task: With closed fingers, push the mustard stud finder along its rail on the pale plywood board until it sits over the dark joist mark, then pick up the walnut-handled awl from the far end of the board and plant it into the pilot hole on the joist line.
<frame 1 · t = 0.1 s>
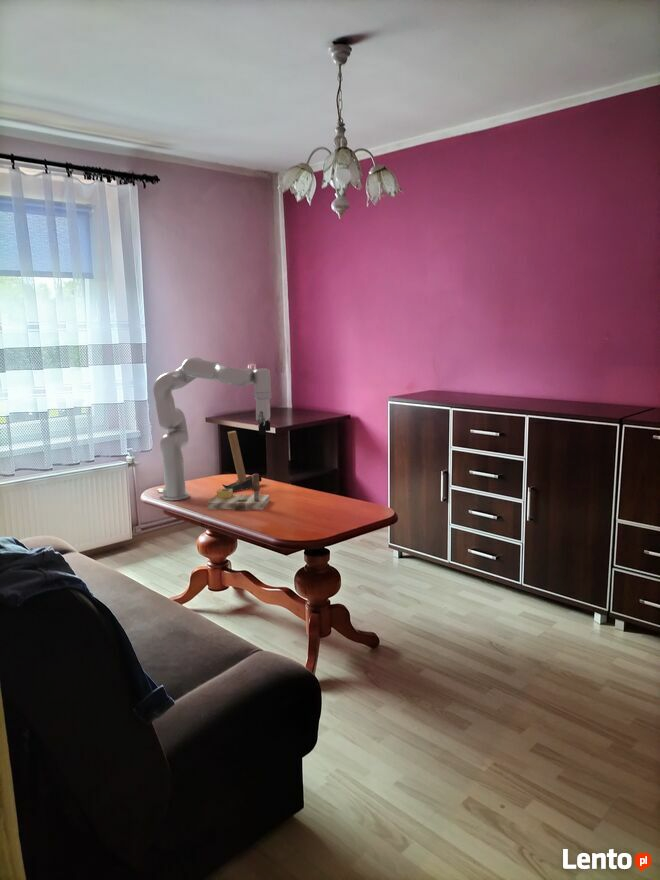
hand: (264, 432, 297), 31 cm above the table, tool pointing down, fingers open, 9 cm apart
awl: (256, 500, 287), point 3 cm above the table, touching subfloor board
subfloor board: (239, 505, 291), on the table
hammer: (242, 488, 322), on the table
stud finder: (224, 493, 295), point 5 cm above the table, slide at 0.0 cm
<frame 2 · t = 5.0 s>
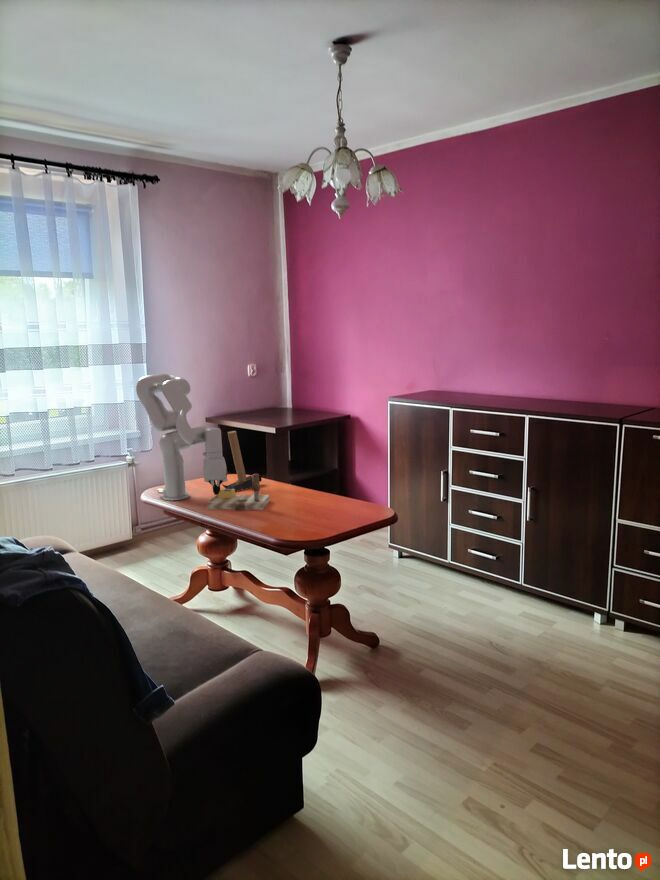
hand: (216, 494, 295), 4 cm above the table, tool pointing down, fingers closed
stud finder: (227, 493, 295), point 5 cm above the table, slide at 1.1 cm, touching gripper
everything else where it was.
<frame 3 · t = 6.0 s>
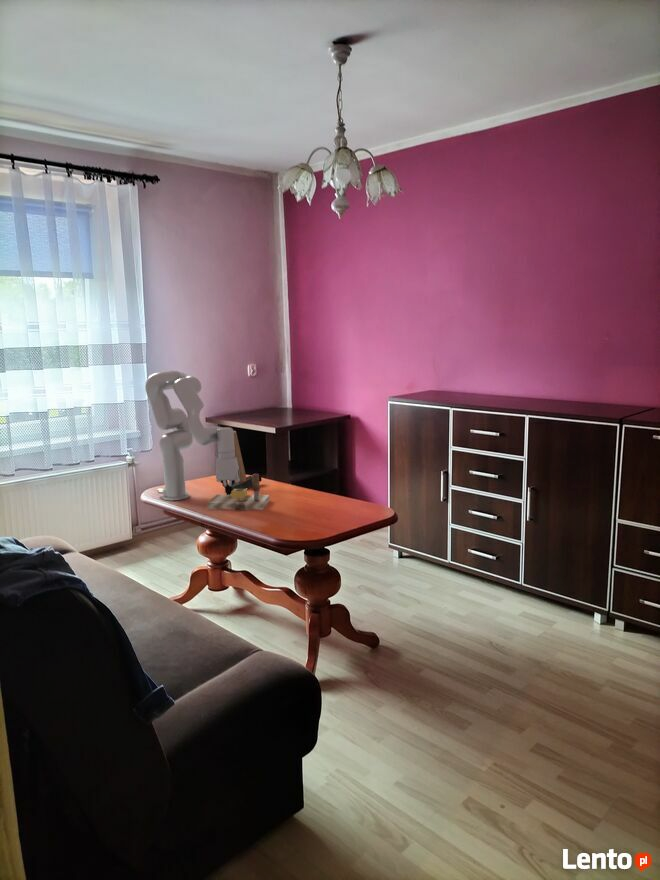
hand: (229, 494, 295), 4 cm above the table, tool pointing down, fingers closed
stud finder: (239, 493, 294), point 5 cm above the table, slide at 6.8 cm, touching gripper
everything else where it was.
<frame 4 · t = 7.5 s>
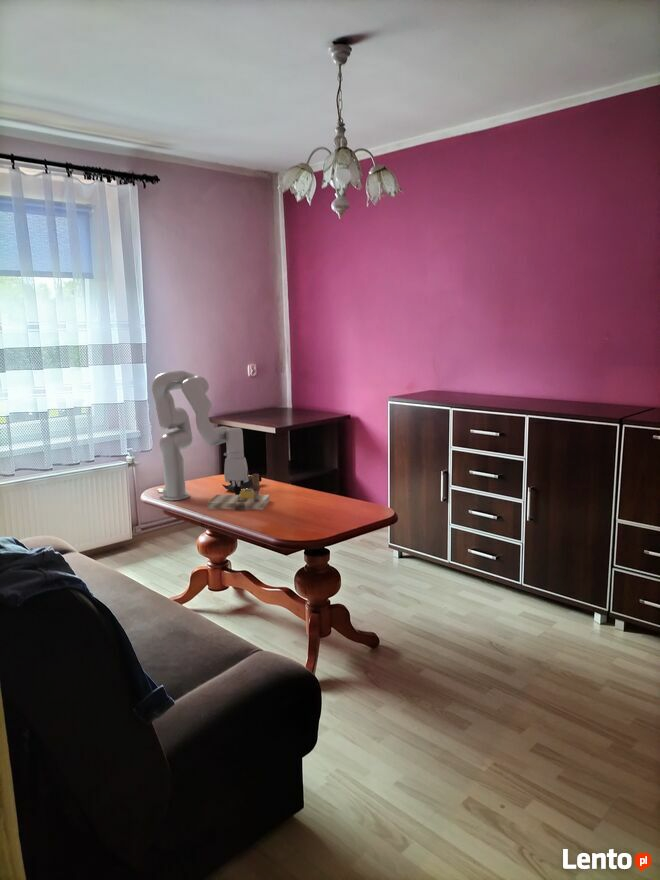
hand: (237, 494, 294), 4 cm above the table, tool pointing down, fingers closed
stud finder: (248, 493, 294), point 5 cm above the table, slide at 10.9 cm, touching gripper
everything else where it was.
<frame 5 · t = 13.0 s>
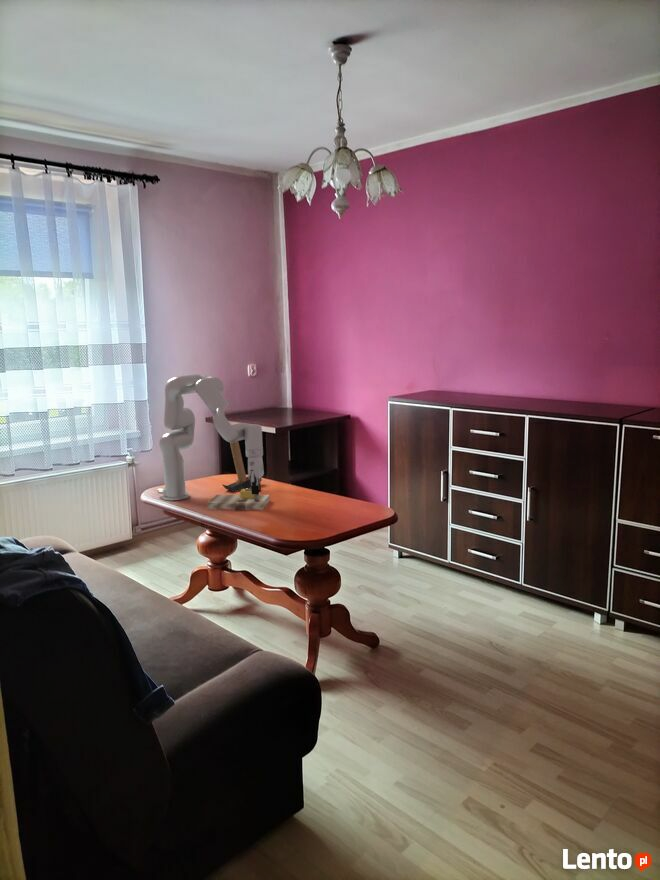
hand: (256, 492, 286), 7 cm above the table, tool pointing down, fingers closed on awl, 3 cm apart
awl: (256, 500, 287), point 3 cm above the table, touching gripper, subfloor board
stud finder: (248, 493, 294), point 5 cm above the table, slide at 10.9 cm
everything else where it was.
when the fingers open (4 cm above the table, at t = 19.0 s): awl stays where it is, resting in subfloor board.
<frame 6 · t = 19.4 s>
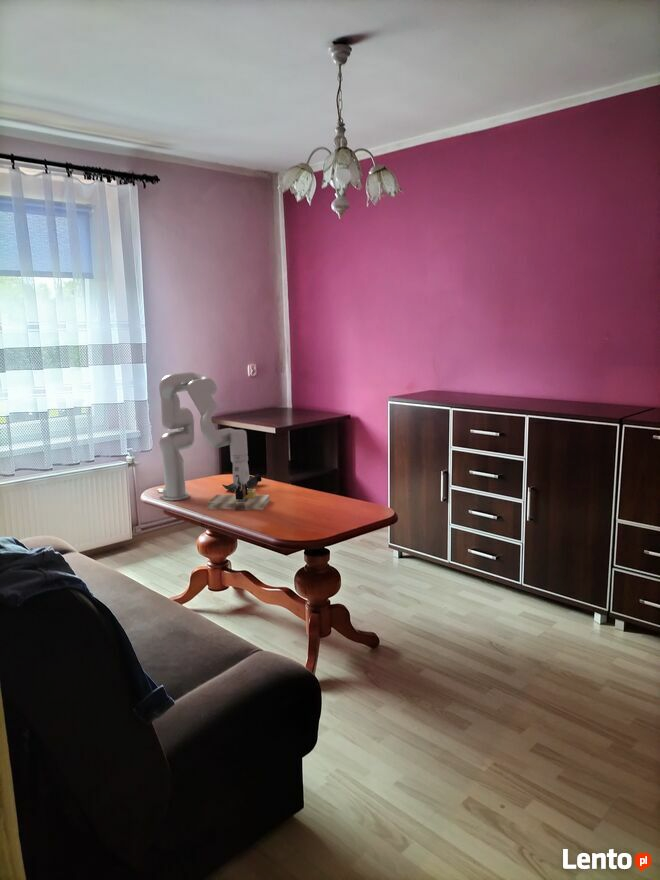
hand: (241, 496, 286), 5 cm above the table, tool pointing down, fingers open, 6 cm apart
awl: (242, 507, 288), resting in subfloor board
stud finder: (248, 493, 294), point 5 cm above the table, slide at 11.0 cm, touching gripper
everything else where it was.
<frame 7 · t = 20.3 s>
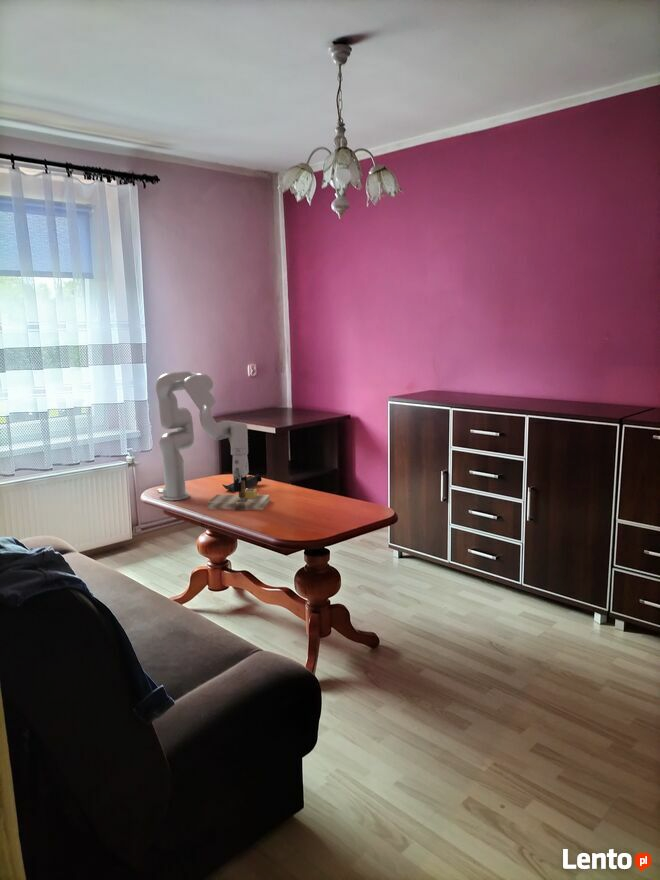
hand: (240, 488, 287), 9 cm above the table, tool pointing down, fingers open, 9 cm apart
stud finder: (249, 493, 293), point 5 cm above the table, slide at 11.5 cm
everything else where it was.
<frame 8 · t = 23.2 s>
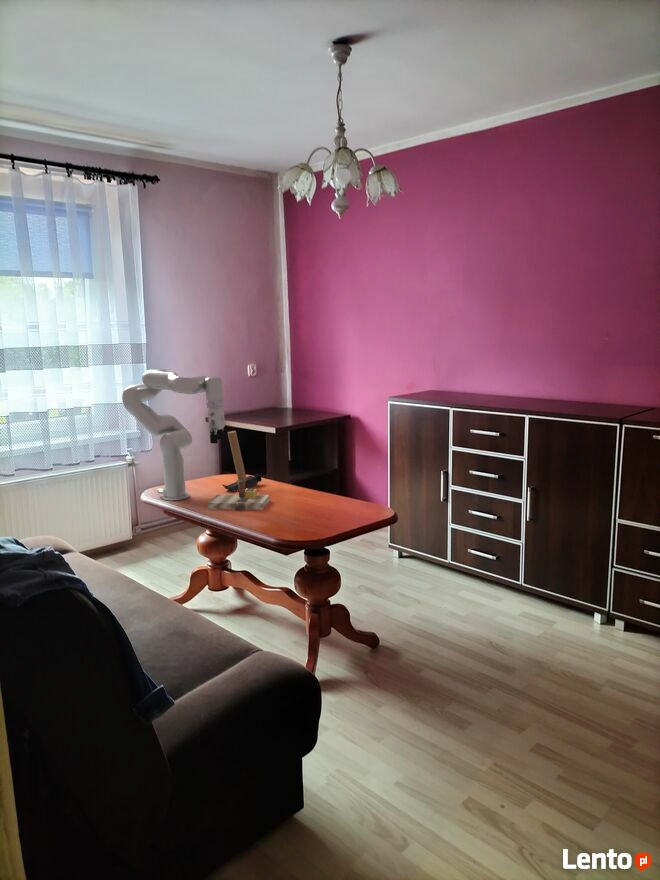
hand: (217, 441, 294), 28 cm above the table, tool pointing down, fingers open, 9 cm apart
nothing on the table moved.
at the end: stud finder slide at 11.5 cm; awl 0.0 cm from the target spot on the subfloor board, point 0.0 cm above the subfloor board's base; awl tilted 0° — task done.
